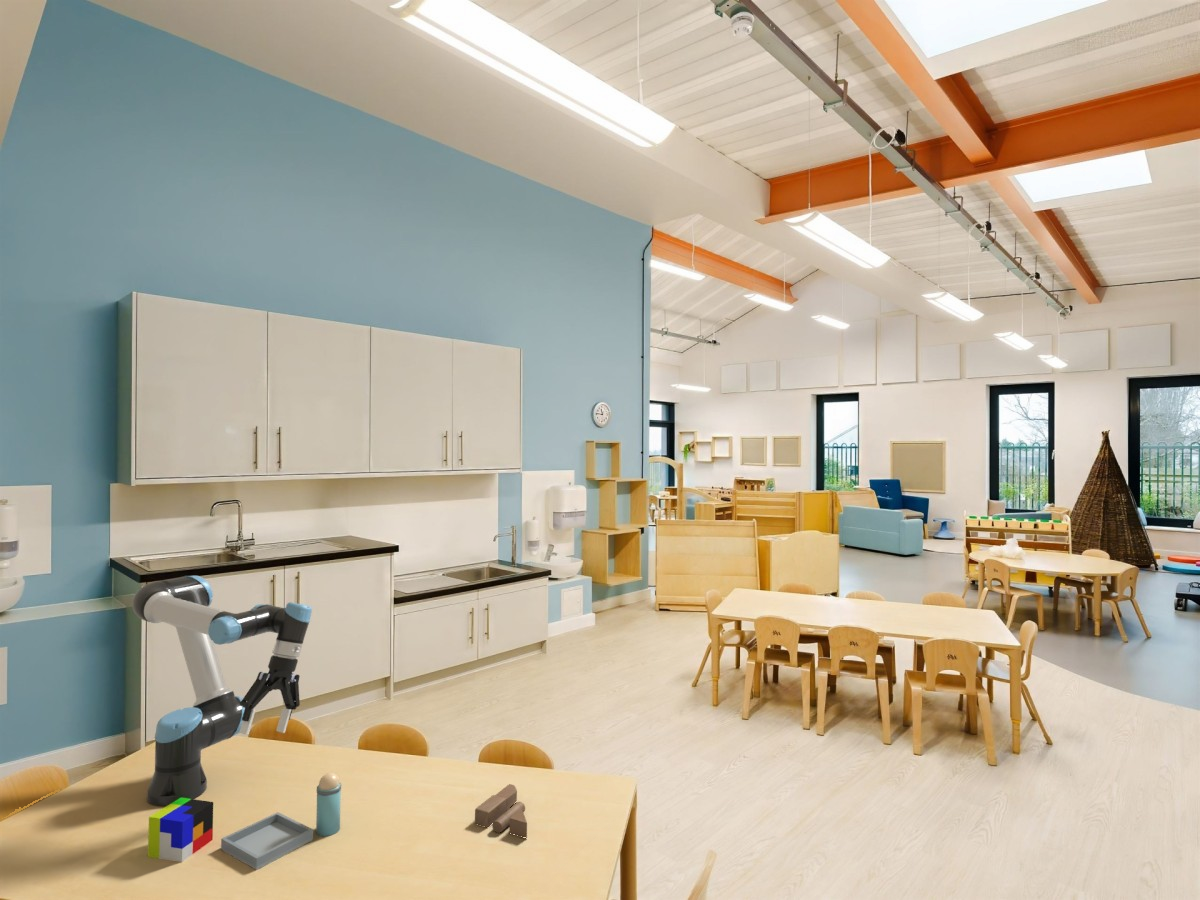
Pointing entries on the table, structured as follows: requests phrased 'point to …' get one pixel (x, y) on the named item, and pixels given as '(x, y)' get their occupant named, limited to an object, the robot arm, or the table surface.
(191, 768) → the robot arm
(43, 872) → the table surface
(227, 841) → the tray
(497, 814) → the wooden block set
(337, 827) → the ball tube
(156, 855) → the puzzle toy
